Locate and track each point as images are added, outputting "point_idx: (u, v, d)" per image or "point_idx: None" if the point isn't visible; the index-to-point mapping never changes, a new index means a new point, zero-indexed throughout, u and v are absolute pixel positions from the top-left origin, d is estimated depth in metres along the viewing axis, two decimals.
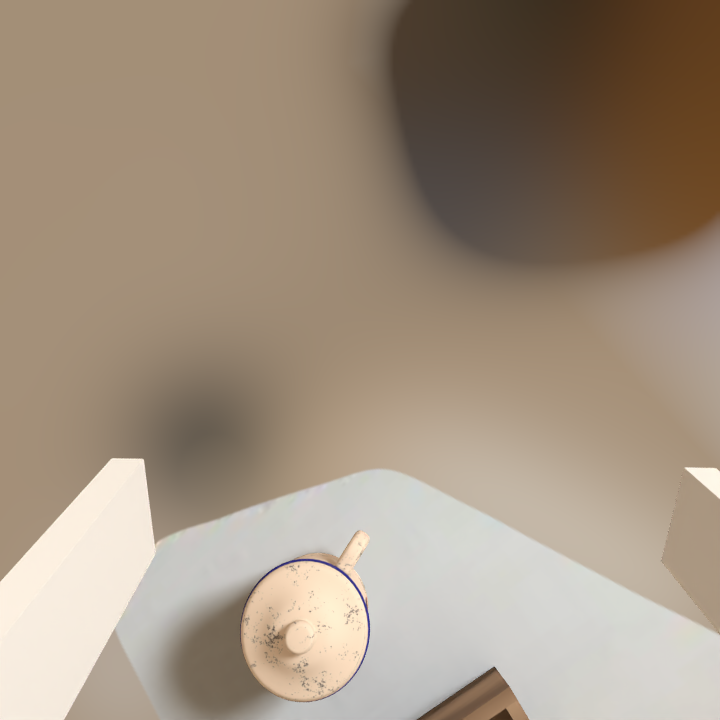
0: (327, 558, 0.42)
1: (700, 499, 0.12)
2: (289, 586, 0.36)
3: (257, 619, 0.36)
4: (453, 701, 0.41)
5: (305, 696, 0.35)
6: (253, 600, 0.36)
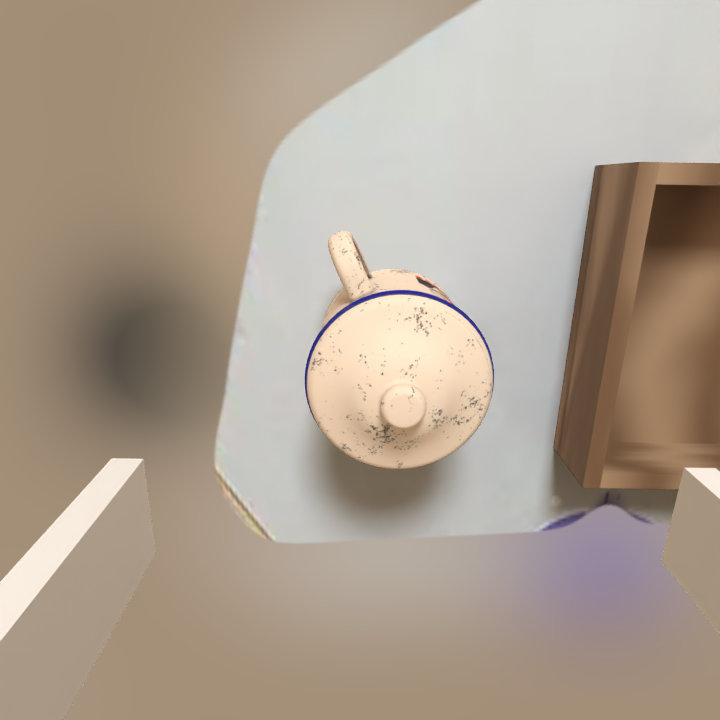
0: (340, 299, 0.29)
1: (700, 499, 0.12)
2: (336, 379, 0.24)
3: (351, 436, 0.25)
4: (592, 243, 0.30)
5: (472, 426, 0.25)
6: (327, 428, 0.25)
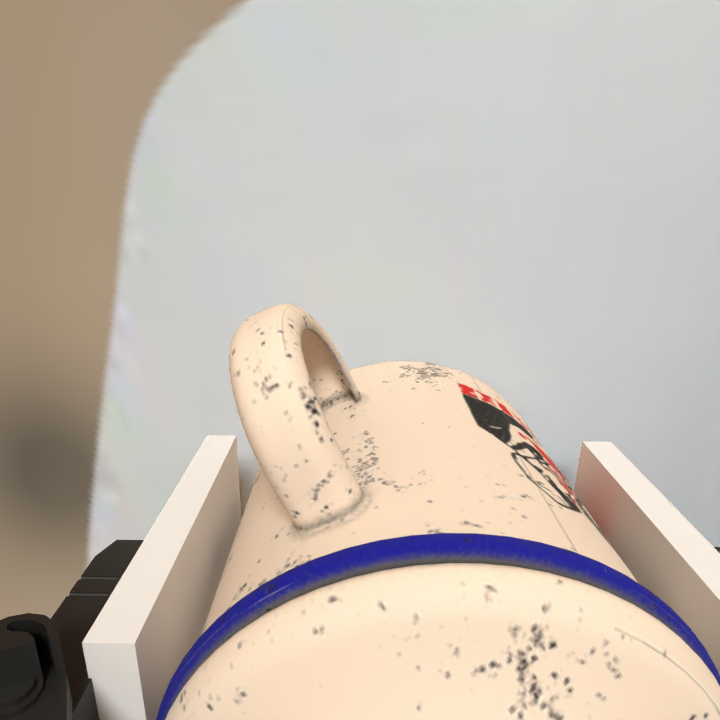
0: None
1: (592, 469, 0.13)
2: None
3: None
4: None
5: None
6: None
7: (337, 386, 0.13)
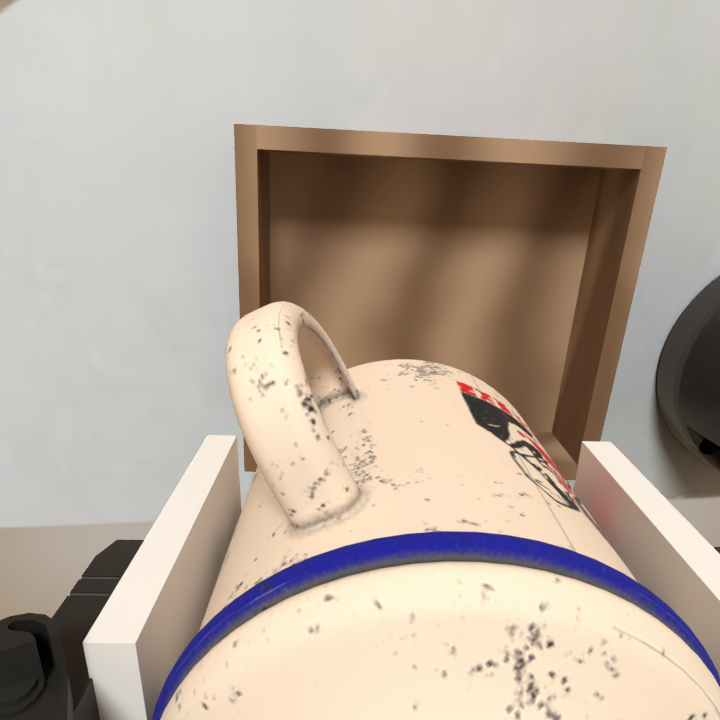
0: None
1: (592, 468, 0.13)
2: None
3: None
4: None
5: None
6: None
7: (335, 385, 0.13)
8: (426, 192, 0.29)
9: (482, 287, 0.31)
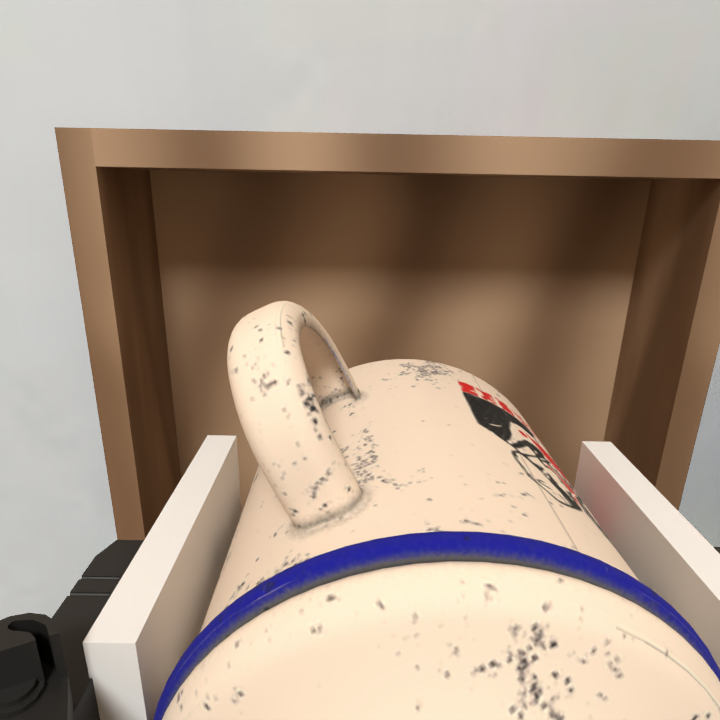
0: None
1: (592, 468, 0.13)
2: None
3: None
4: None
5: None
6: None
7: (336, 384, 0.13)
8: (386, 222, 0.19)
9: (476, 355, 0.21)
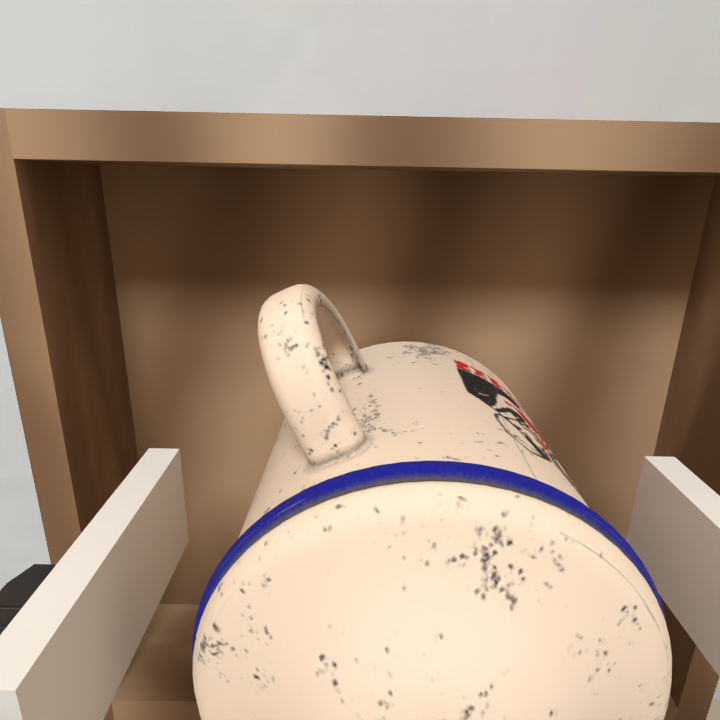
0: None
1: (658, 486, 0.12)
2: (260, 700, 0.09)
3: None
4: None
5: None
6: None
7: (347, 360, 0.15)
8: (390, 228, 0.16)
9: None
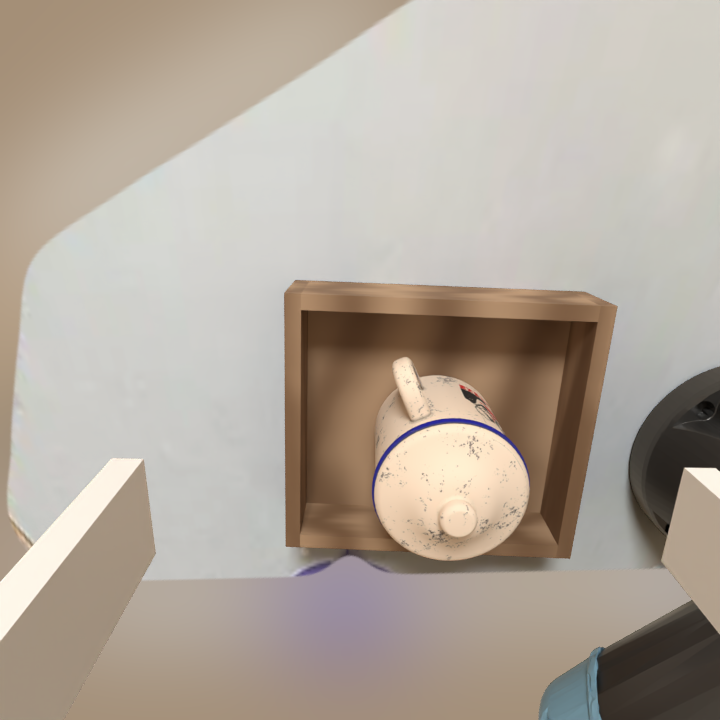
0: (397, 408, 0.34)
1: (700, 499, 0.12)
2: (401, 491, 0.29)
3: (410, 535, 0.30)
4: None
5: (511, 529, 0.30)
6: (389, 527, 0.30)
7: None
8: (432, 326, 0.36)
9: None
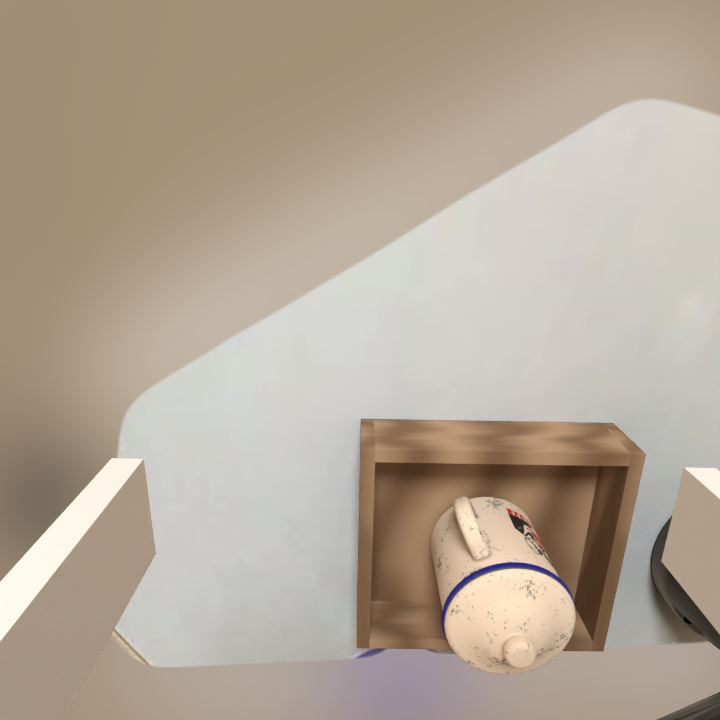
0: (456, 536, 0.39)
1: (700, 499, 0.12)
2: (469, 624, 0.34)
3: (476, 657, 0.35)
4: None
5: (560, 649, 0.36)
6: (458, 651, 0.36)
7: None
8: None
9: None
